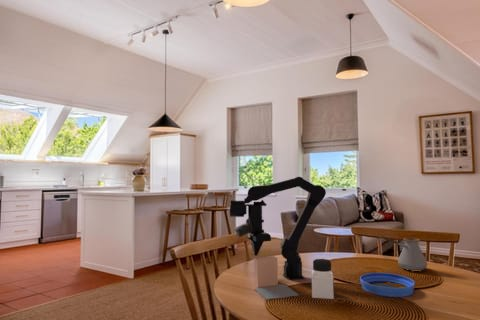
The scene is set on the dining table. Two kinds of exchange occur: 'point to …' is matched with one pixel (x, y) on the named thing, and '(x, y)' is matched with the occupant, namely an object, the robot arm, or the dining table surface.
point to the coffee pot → (410, 254)
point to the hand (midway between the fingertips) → (255, 255)
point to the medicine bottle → (322, 279)
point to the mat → (276, 292)
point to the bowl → (387, 288)
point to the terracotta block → (265, 271)
